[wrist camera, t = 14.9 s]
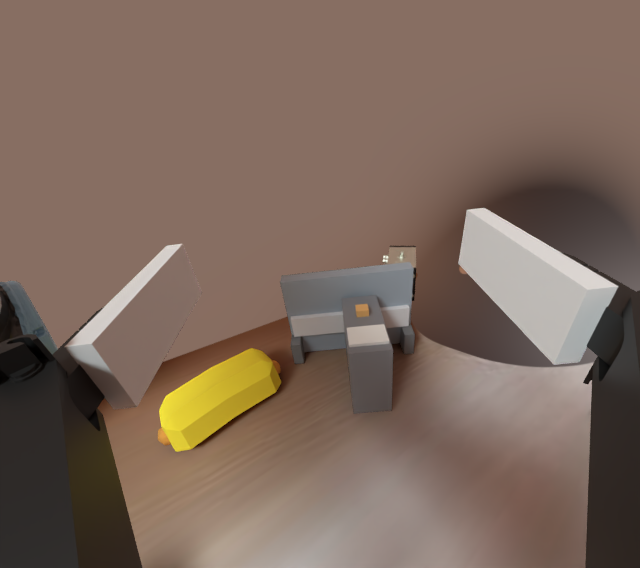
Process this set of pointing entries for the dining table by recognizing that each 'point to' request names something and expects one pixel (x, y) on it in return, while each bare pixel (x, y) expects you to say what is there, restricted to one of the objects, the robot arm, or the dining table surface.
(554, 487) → the dining table surface
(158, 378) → the dining table surface
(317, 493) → the dining table surface
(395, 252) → the pneumatic valve
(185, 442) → the yellow faceted gourd
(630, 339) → the robot arm
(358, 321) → the block
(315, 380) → the dining table surface
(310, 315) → the rail panel
